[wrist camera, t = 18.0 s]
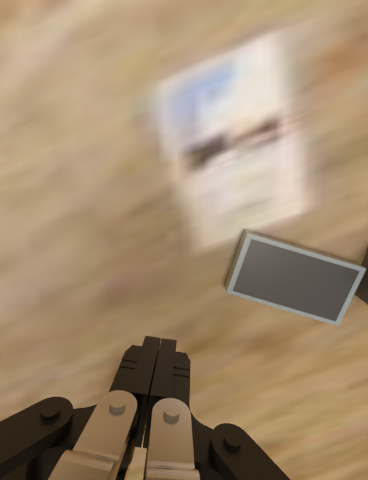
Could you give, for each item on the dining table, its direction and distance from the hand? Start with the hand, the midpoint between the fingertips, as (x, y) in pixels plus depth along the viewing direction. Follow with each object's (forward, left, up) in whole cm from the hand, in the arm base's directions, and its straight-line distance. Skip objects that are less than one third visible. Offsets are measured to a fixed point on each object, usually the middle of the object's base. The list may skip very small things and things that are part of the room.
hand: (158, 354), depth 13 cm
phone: (+1, -10, -15) cm, 18 cm away
